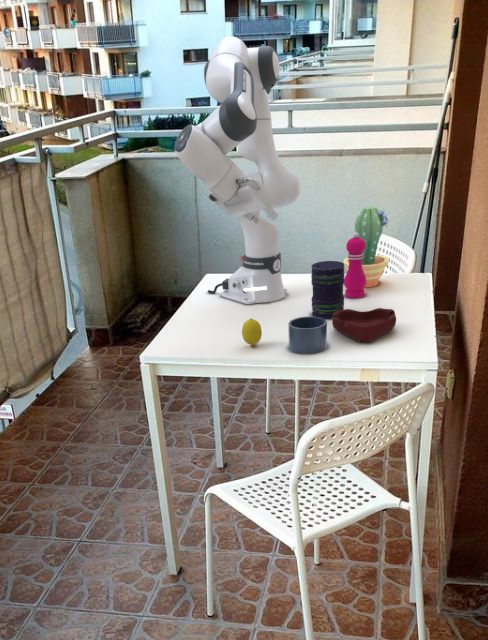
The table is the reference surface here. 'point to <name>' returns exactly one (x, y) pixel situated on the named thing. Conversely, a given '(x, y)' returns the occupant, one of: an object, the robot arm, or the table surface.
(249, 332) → the lemon
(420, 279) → the table surface
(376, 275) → the potted cactus
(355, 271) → the pepper mill
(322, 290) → the dark blue barrel
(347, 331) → the ashtray
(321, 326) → the cup
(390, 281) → the table surface
